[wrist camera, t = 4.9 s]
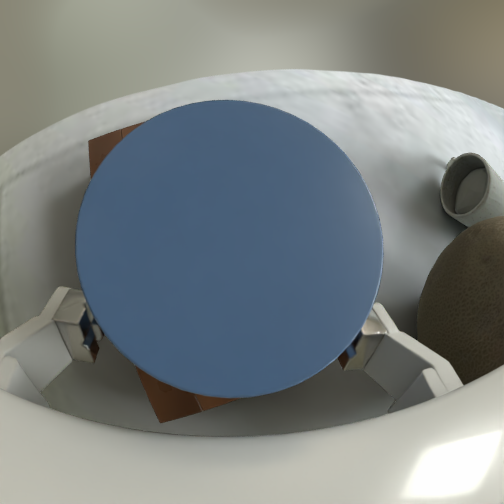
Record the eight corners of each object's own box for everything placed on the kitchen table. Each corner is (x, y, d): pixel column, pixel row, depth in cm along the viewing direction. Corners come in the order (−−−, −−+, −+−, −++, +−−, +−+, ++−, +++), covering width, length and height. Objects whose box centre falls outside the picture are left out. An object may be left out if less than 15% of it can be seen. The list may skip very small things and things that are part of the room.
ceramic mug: (480, 249, 24) (526, 229, 17) (442, 228, 23) (494, 199, 16) (469, 178, 27) (505, 153, 20) (431, 152, 27) (469, 119, 19)
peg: (191, 346, 17) (134, 439, 3) (168, 283, 18) (65, 142, 3) (254, 324, 18) (421, 313, 4) (231, 262, 19) (308, 87, 4)
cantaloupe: (466, 261, 23) (571, 216, 9) (463, 388, 19) (576, 389, 5) (371, 242, 21) (519, 151, 7) (363, 414, 17) (524, 467, 3)
